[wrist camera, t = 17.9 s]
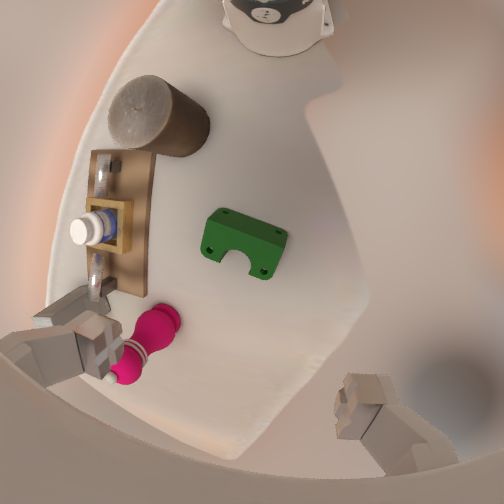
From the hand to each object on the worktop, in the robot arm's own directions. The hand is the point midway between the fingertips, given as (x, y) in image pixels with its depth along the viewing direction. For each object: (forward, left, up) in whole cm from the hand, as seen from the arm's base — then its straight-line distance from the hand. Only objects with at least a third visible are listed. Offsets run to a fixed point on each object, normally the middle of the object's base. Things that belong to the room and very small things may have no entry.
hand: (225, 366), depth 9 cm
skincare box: (+22, -36, -34) cm, 54 cm away
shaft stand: (+4, -29, -34) cm, 45 cm away
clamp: (+3, -5, -34) cm, 35 cm away
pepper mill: (+21, -18, -34) cm, 44 cm away
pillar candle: (-13, -18, -34) cm, 41 cm away
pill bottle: (+4, -29, -33) cm, 44 cm away
